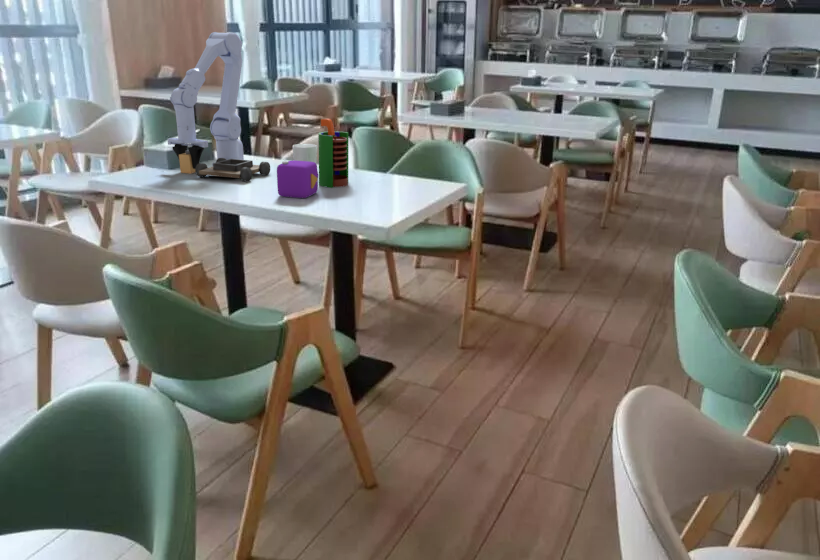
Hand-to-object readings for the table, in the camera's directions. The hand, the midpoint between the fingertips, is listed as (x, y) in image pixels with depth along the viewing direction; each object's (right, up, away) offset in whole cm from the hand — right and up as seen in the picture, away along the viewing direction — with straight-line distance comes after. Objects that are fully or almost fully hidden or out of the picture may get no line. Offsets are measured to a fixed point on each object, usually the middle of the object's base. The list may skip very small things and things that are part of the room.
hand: (190, 167), depth 227 cm
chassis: (+16, -4, -5) cm, 17 cm away
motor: (+50, -8, -14) cm, 52 cm away
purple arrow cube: (+41, -12, -27) cm, 51 cm away
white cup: (+39, -3, -3) cm, 39 cm away
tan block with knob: (0, -1, 0) cm, 1 cm away
